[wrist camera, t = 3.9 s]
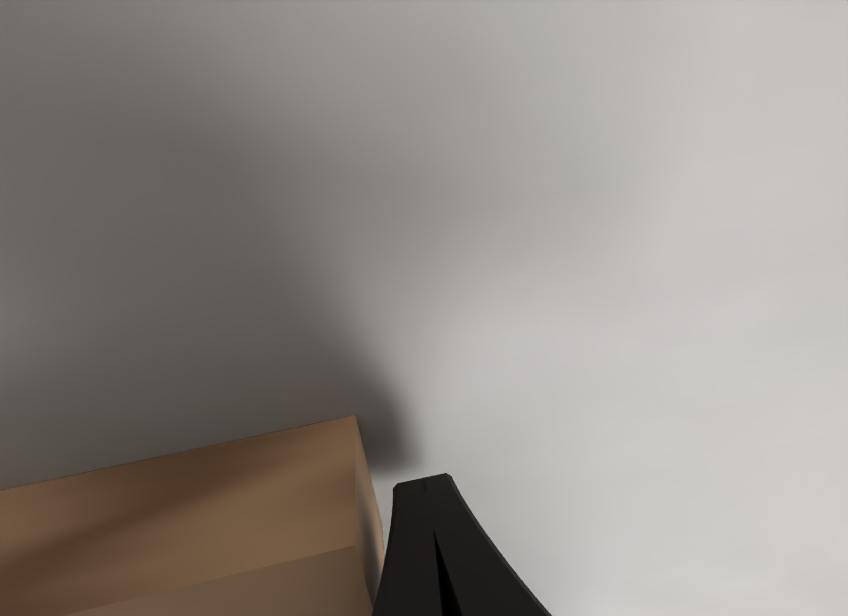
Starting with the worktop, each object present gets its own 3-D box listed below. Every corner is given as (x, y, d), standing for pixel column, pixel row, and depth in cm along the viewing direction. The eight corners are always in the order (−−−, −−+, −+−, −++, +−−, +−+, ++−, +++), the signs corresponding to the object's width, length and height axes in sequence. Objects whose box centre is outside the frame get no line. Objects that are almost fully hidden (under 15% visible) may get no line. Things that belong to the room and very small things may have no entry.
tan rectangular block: (355, 412, 10) (354, 544, 6) (381, 521, 11) (392, 679, 8) (-103, 508, 9) (-390, 725, 5) (-15, 616, 10) (-201, 843, 7)
